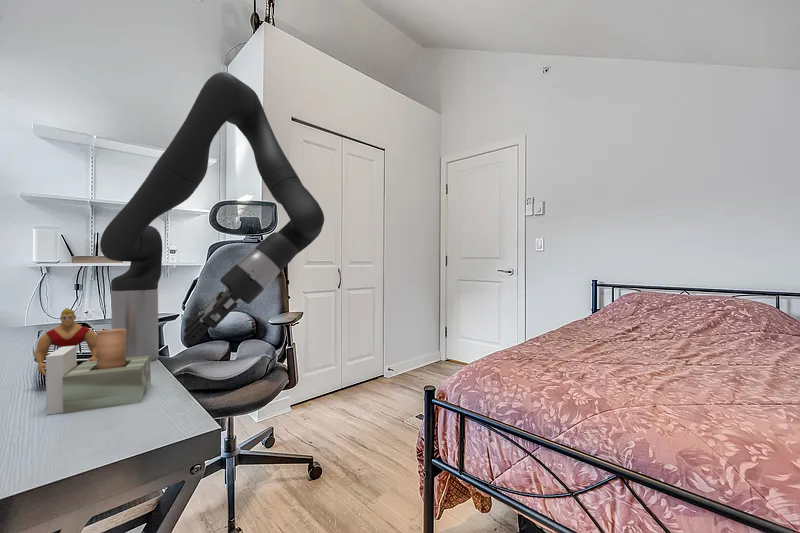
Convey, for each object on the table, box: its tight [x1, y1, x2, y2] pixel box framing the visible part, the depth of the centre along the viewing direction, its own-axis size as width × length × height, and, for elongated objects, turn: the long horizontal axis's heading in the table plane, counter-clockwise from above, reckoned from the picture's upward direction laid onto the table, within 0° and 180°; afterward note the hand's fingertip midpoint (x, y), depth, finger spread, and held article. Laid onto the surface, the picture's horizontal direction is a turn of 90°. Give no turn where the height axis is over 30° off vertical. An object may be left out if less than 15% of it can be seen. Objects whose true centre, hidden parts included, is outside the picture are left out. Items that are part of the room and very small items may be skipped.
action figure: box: [33, 307, 97, 376], centre depth 71 cm, size 10×4×15 cm, turn 129°
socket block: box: [62, 356, 152, 415], centre depth 64 cm, size 10×10×6 cm
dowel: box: [95, 328, 126, 370], centre depth 64 cm, size 4×4×10 cm
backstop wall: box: [45, 346, 78, 416], centre depth 60 cm, size 8×2×9 cm, turn 30°
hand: (187, 337), depth 69 cm, fingers open, 8 cm apart
